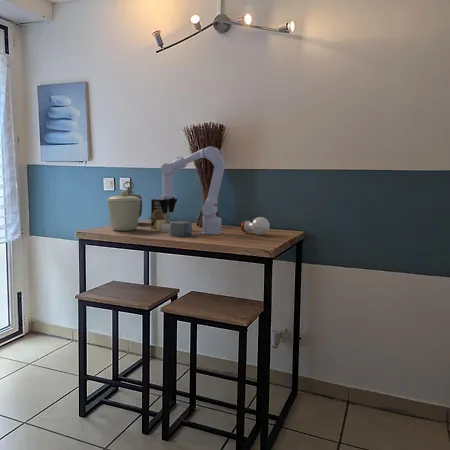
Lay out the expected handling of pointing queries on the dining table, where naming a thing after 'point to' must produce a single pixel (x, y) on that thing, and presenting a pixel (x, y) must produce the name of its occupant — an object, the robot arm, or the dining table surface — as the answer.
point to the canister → (124, 212)
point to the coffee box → (158, 213)
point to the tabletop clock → (133, 195)
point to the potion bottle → (256, 226)
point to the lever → (163, 226)
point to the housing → (181, 228)
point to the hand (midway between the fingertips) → (168, 212)
